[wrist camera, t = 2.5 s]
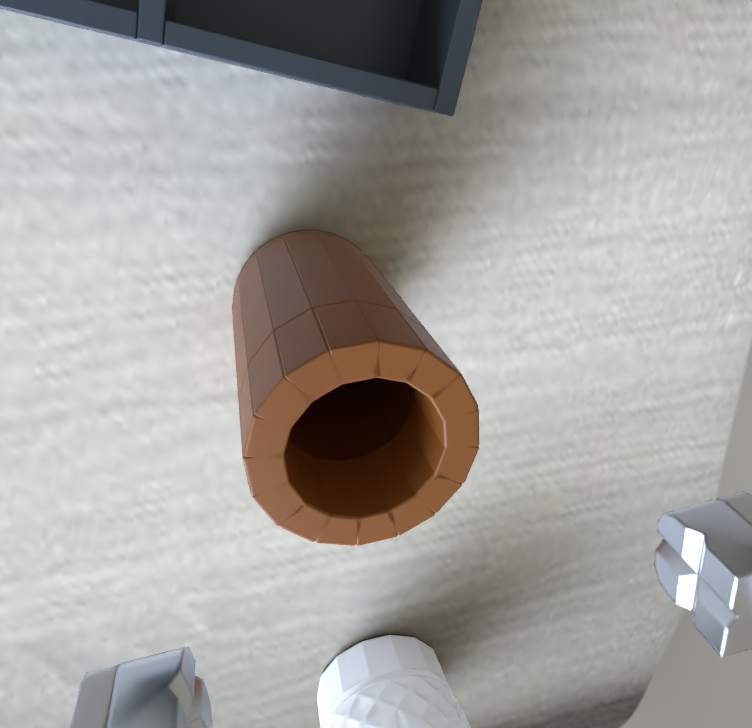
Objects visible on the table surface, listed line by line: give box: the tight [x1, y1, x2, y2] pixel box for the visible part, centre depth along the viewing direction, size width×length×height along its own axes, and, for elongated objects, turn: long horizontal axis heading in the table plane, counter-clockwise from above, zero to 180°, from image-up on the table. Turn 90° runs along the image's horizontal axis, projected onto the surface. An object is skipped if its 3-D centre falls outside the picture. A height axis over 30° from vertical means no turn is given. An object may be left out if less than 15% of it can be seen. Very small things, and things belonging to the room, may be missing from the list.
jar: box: [232, 230, 479, 545], centre depth 18 cm, size 6×6×10 cm
